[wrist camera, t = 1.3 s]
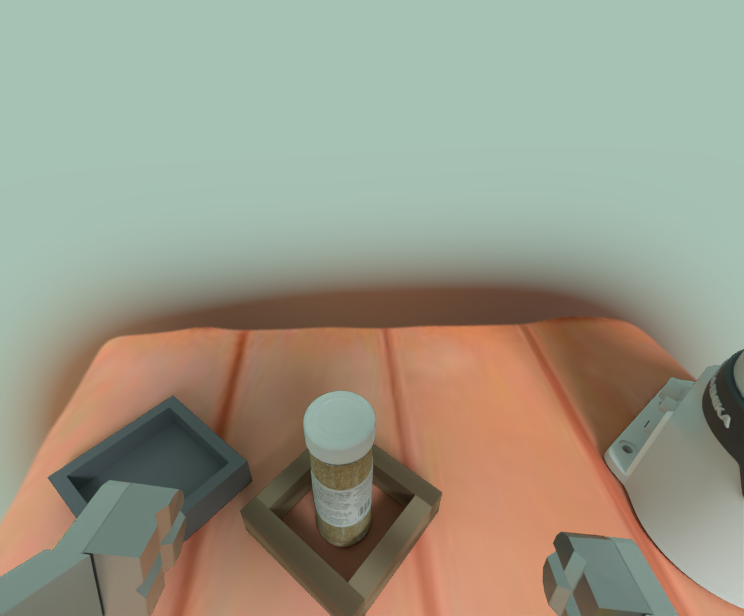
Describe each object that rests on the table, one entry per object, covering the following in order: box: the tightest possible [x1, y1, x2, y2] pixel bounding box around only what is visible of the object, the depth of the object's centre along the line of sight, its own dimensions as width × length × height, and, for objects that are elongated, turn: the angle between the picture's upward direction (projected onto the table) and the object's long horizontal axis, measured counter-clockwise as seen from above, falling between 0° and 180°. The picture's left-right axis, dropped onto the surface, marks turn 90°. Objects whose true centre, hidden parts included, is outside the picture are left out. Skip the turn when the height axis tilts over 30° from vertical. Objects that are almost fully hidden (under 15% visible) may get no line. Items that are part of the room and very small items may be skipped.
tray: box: [48, 396, 252, 542], centre depth 37 cm, size 11×11×3 cm
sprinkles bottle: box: [303, 391, 375, 547], centre depth 32 cm, size 5×5×14 cm
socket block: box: [240, 444, 442, 616], centre depth 35 cm, size 11×11×3 cm
